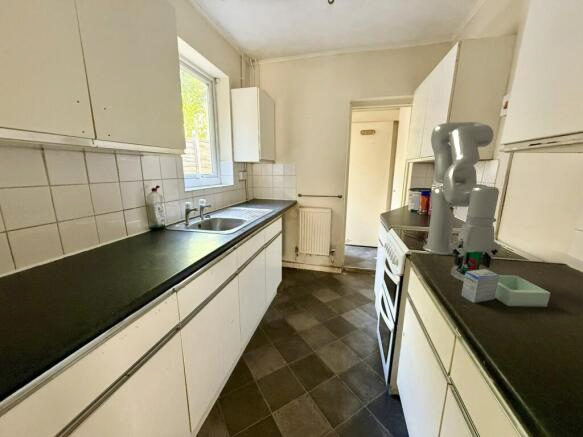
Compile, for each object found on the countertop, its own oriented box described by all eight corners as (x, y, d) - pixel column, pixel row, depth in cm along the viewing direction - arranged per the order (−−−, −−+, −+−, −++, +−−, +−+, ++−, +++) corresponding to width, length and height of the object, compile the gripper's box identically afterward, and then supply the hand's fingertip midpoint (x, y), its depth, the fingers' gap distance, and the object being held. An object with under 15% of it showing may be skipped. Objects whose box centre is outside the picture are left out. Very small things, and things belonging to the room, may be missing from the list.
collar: (445, 270, 92) (446, 265, 91) (473, 270, 91) (474, 266, 91) (464, 283, 81) (465, 278, 81) (496, 284, 81) (497, 279, 80)
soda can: (480, 280, 83) (486, 249, 81) (465, 279, 84) (470, 248, 82) (473, 274, 88) (478, 244, 86) (458, 273, 89) (463, 244, 87)
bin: (480, 287, 79) (482, 274, 78) (513, 287, 79) (516, 275, 78) (507, 306, 68) (511, 292, 67) (546, 306, 68) (550, 292, 67)
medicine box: (480, 292, 76) (485, 268, 74) (494, 300, 71) (500, 274, 70) (460, 295, 74) (465, 270, 72) (474, 303, 70) (479, 277, 68)
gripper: (496, 219, 85) (487, 262, 88) (447, 218, 86) (441, 261, 89) (514, 224, 77) (504, 270, 81) (461, 223, 78) (453, 270, 82)
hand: (471, 266), depth 85 cm, fingers open, 9 cm apart
